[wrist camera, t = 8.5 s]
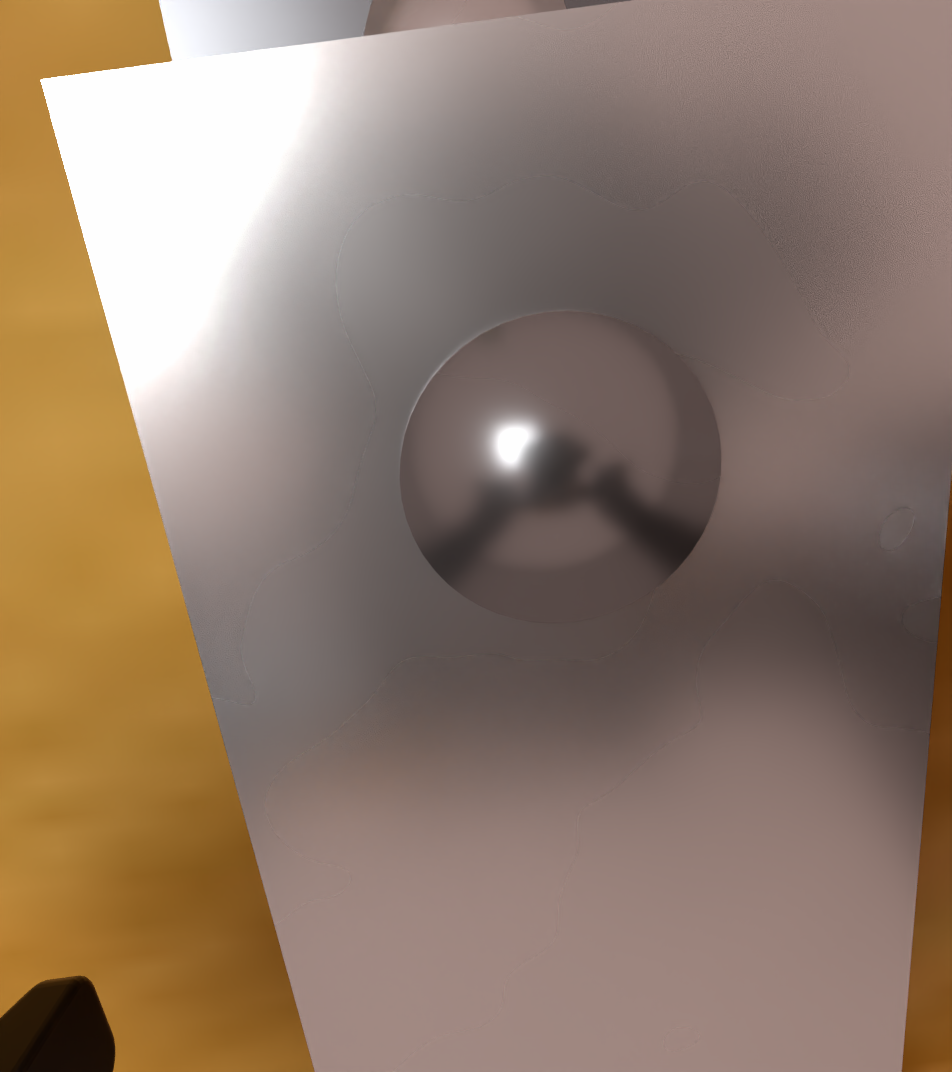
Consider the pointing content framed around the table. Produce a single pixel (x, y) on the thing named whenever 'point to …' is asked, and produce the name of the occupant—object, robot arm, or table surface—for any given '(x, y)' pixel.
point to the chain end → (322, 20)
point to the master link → (557, 509)
